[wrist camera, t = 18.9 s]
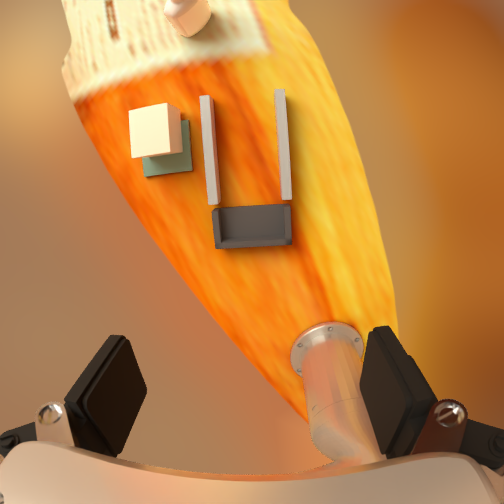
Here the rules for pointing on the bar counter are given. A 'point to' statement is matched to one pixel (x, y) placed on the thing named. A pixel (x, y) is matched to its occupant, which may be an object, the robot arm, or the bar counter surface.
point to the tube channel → (211, 147)
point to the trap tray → (252, 226)
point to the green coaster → (171, 157)
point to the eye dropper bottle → (187, 15)
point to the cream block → (155, 131)
